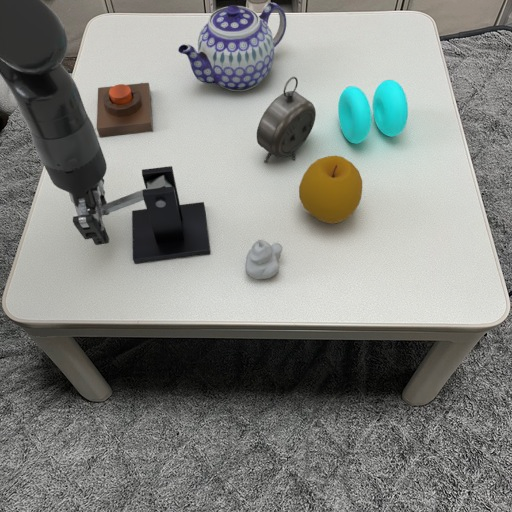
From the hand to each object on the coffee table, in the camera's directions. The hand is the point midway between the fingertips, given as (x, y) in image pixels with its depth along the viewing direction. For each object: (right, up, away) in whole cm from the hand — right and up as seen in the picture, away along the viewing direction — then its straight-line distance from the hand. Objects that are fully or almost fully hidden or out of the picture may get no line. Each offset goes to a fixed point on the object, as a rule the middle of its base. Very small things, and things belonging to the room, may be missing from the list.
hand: (102, 227), depth 80 cm
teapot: (+20, +33, +27) cm, 47 cm away
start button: (-2, +26, +18) cm, 31 cm away
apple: (+36, +2, +6) cm, 36 cm away
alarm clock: (+29, +14, +14) cm, 36 cm away
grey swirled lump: (+25, -6, 0) cm, 26 cm away
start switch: (-2, +23, +21) cm, 31 cm away
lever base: (+10, -1, +4) cm, 11 cm away
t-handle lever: (+5, +3, -3) cm, 7 cm away
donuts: (+45, +19, +17) cm, 51 cm away
